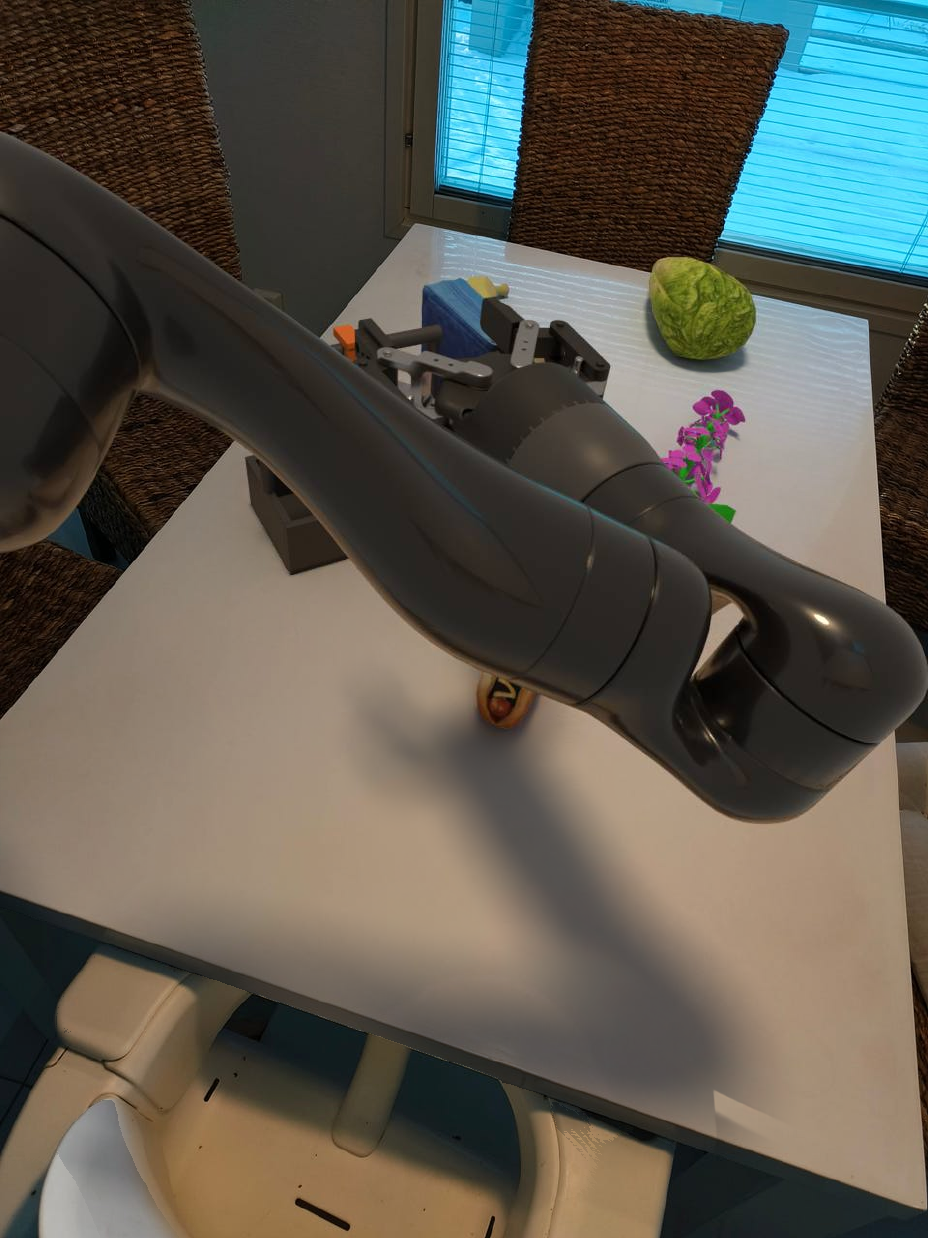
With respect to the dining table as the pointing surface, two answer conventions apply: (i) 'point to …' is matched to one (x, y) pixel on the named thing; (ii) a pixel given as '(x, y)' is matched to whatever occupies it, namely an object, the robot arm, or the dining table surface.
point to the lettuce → (700, 308)
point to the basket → (287, 515)
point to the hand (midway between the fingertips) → (426, 321)
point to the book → (456, 320)
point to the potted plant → (705, 446)
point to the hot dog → (502, 701)
